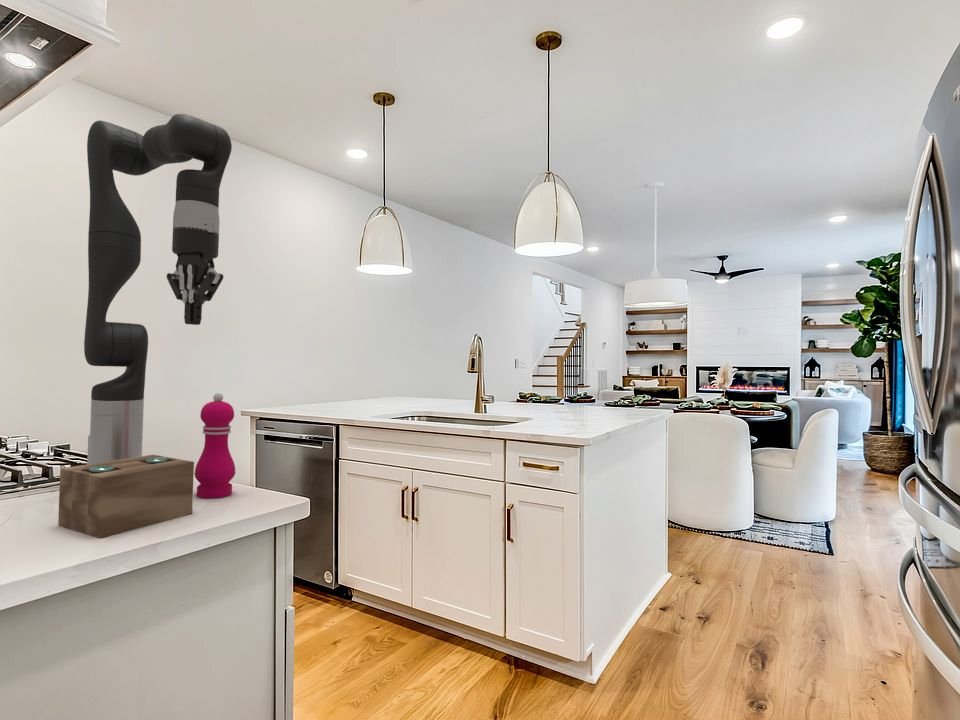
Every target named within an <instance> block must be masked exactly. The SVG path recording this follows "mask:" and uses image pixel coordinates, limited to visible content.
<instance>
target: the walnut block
mask: <svg viewBox="0 0 960 720" xmlns="http://www.w3.org/2000/svg"><path fill="white" fill-rule="evenodd" d="M153 457H166V458H167V462H163V463H157V464H149V463H146V459H148V458H153ZM95 466H114V471H109V472H103V473H97V474H94V473H90V472H89V468H91V467H95ZM194 469H195V462H194V461H193V460H192V461H190V460H186V459H182V458H181V459H179V458H174V457H168V456H164V455H156V454H148V455H142V456H140V457H134V458H127V459H120V460H114V461H107V462H100V463H94V464H87V463H86V464H82V465H80V464H79V465H74V466H68V467H62V468H60V470H59V493H58V496H59V497H58V499H59V500H58V518H57V519H58V520H57V523H58V524H57V525H58V527H61V528H65V529H68V530H72V531H75V532H79V533H81V534H86V535H89V536H93V537H95V538H99V539H103V538H108V537H111V536H114V535H118V534H120V533H121V534H122V533H125V532H129V531H132V530H137V529H140V528H143V527H147V526H148V527H149V526H150V525H154V524H159V523H161V522H166V521H169V520H174V519H176V518H181V517H183V516H188V515H192V514H193V498H194V497H193V495H194V477H195V470H194Z"/></svg>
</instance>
